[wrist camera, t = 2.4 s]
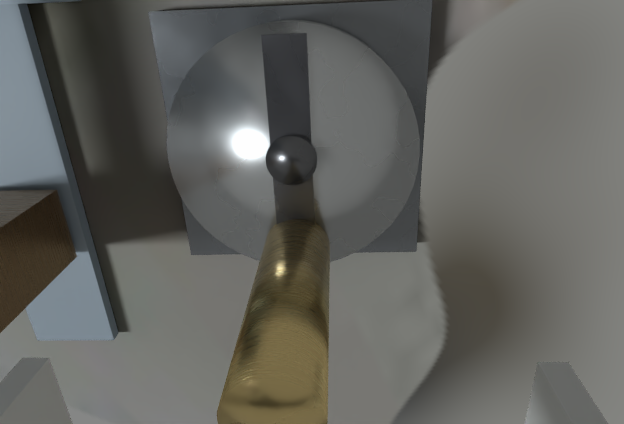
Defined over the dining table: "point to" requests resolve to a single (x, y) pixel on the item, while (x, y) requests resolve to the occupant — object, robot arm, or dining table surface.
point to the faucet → (290, 191)
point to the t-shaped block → (47, 181)
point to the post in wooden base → (30, 247)
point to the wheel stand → (345, 16)
